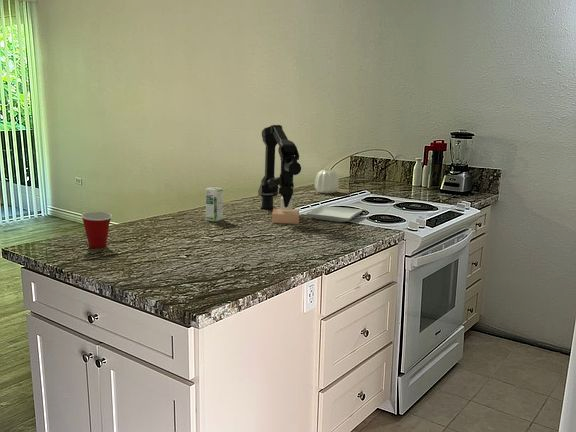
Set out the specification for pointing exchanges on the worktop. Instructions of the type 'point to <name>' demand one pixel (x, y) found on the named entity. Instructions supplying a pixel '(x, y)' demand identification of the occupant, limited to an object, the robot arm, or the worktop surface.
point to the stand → (285, 216)
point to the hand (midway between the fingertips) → (286, 206)
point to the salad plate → (333, 213)
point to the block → (284, 206)
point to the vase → (326, 181)
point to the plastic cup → (96, 228)
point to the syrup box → (214, 204)
